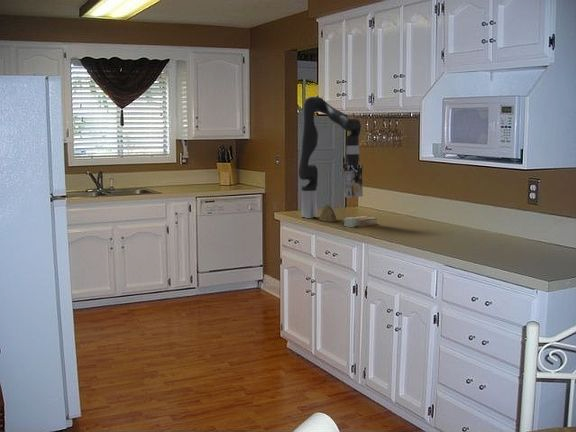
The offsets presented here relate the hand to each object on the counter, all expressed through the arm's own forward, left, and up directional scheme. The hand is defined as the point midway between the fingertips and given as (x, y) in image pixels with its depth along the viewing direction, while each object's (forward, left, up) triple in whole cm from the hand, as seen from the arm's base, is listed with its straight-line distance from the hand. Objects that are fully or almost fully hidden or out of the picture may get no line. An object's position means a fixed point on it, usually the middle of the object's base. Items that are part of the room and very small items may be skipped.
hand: (353, 181), depth 389 cm
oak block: (+5, +2, -25) cm, 26 cm away
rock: (-18, -5, -25) cm, 31 cm away
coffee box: (0, 0, -9) cm, 9 cm away
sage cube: (+7, -9, -25) cm, 27 cm away
